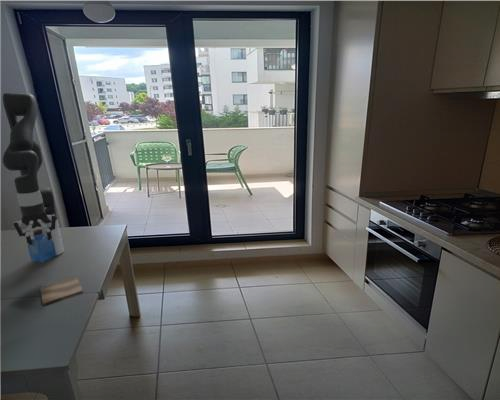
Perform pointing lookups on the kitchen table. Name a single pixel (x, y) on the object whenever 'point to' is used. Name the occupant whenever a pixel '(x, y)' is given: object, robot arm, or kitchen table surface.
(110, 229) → the kitchen table surface
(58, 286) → the walnut board
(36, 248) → the perfume bottle
